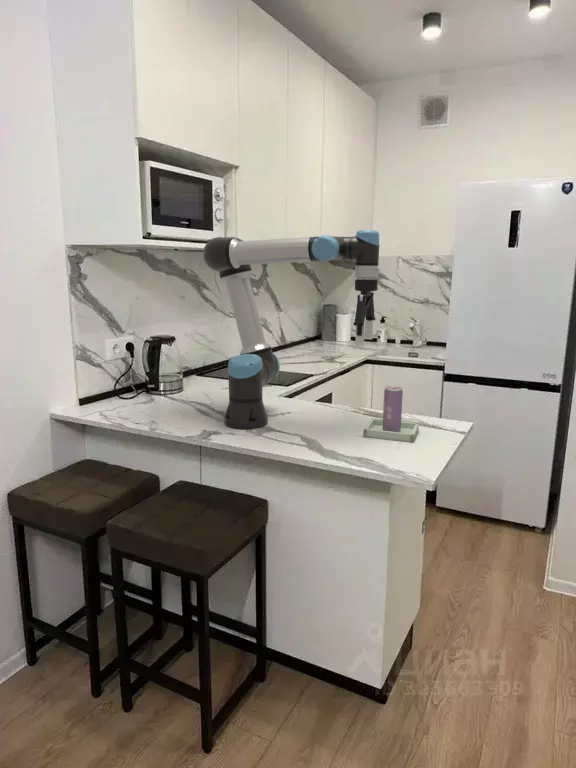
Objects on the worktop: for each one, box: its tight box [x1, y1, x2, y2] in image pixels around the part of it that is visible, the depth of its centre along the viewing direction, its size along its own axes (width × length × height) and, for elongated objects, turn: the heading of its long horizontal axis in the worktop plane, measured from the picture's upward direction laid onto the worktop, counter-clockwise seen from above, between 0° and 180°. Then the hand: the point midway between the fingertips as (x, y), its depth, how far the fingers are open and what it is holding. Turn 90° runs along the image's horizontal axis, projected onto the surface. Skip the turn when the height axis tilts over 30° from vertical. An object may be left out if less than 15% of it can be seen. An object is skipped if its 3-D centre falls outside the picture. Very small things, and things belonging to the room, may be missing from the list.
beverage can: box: [382, 385, 403, 432], centre depth 181 cm, size 6×6×15 cm
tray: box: [363, 417, 420, 443], centre depth 183 cm, size 16×13×2 cm
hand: (364, 342), depth 187 cm, fingers open, 13 cm apart
